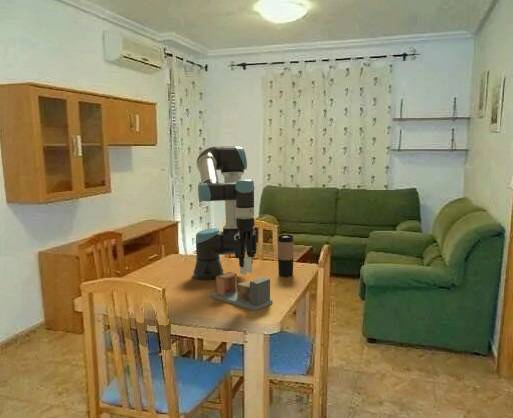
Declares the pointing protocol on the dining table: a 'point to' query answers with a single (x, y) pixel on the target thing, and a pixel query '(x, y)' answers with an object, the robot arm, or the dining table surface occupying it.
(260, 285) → the board
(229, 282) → the block
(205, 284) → the dining table surface
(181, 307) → the dining table surface
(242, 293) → the brown block
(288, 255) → the travel mug
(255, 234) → the robot arm
